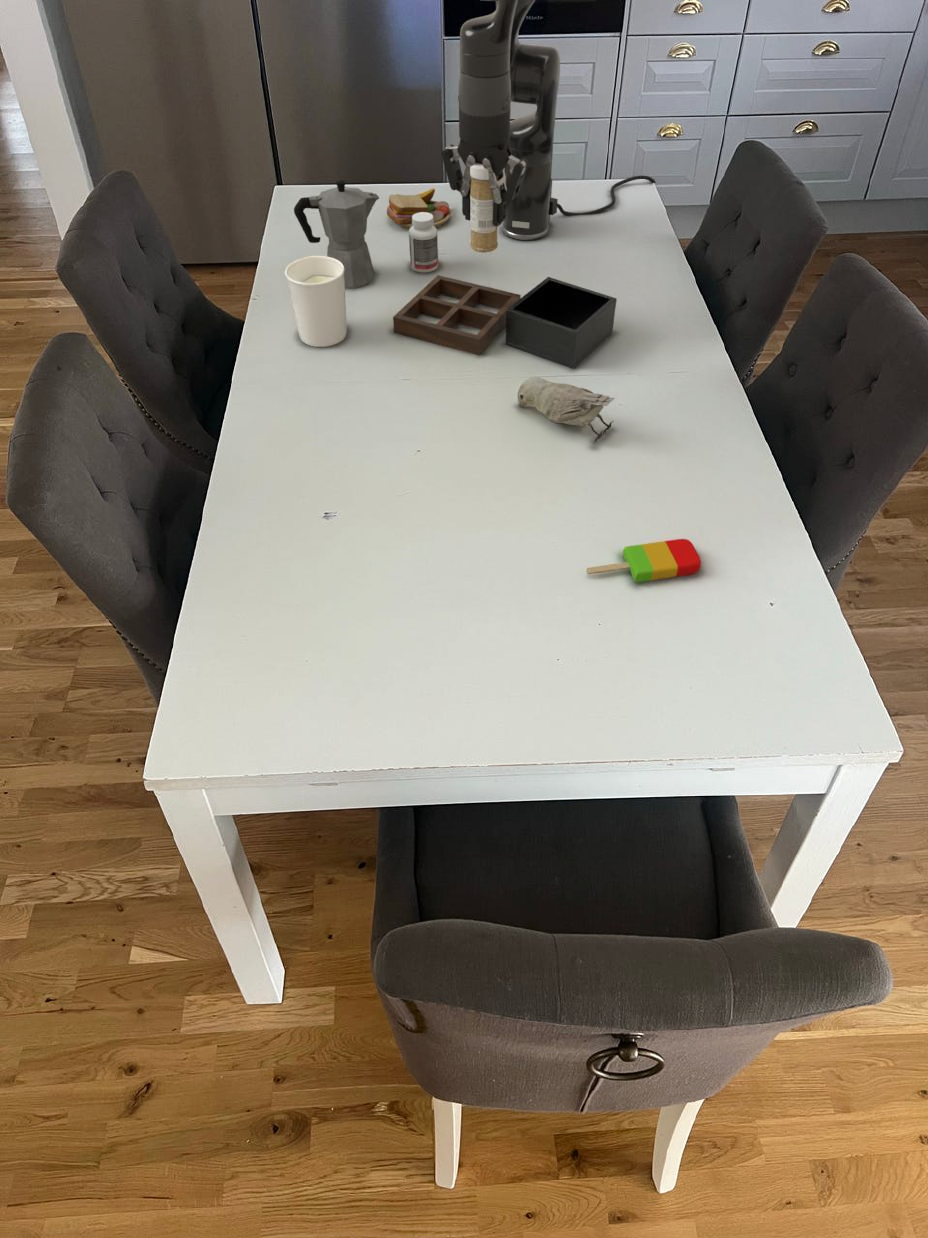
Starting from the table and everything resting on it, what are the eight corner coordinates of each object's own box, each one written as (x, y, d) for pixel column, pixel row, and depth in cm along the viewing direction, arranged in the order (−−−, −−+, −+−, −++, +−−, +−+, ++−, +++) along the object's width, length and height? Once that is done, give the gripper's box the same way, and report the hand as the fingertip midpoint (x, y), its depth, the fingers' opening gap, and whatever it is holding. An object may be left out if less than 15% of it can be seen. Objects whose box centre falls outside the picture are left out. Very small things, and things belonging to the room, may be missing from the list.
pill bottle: (444, 266, 178) (442, 216, 171) (423, 276, 175) (421, 225, 168) (425, 257, 181) (423, 207, 173) (404, 266, 178) (401, 216, 171)
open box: (546, 311, 166) (548, 276, 162) (612, 333, 161) (616, 298, 156) (505, 344, 159) (506, 309, 154) (573, 368, 154) (576, 333, 149)
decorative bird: (528, 397, 148) (530, 357, 143) (616, 432, 142) (622, 391, 136) (509, 414, 145) (511, 373, 140) (598, 450, 139) (604, 408, 133)
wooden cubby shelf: (438, 289, 172) (437, 274, 170) (520, 310, 167) (520, 294, 164) (393, 332, 162) (392, 316, 160) (479, 355, 157) (479, 339, 154)
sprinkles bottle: (499, 241, 150) (501, 155, 140) (495, 254, 147) (496, 167, 137) (472, 239, 151) (472, 153, 141) (467, 252, 148) (466, 165, 138)
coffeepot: (380, 261, 179) (373, 165, 166) (388, 284, 173) (381, 187, 160) (301, 270, 177) (287, 174, 164) (306, 294, 171) (292, 196, 158)
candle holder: (284, 343, 160) (273, 277, 151) (311, 315, 166) (302, 251, 157) (335, 354, 157) (327, 288, 148) (360, 326, 163) (354, 261, 154)
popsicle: (702, 574, 121) (705, 563, 119) (592, 591, 119) (593, 580, 117) (687, 546, 124) (689, 535, 123) (580, 562, 122) (581, 551, 121)
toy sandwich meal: (456, 228, 189) (456, 205, 185) (391, 235, 187) (390, 211, 184) (445, 202, 197) (444, 180, 194) (382, 208, 195) (381, 186, 192)
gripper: (540, 103, 133) (534, 220, 146) (453, 88, 137) (454, 203, 150) (518, 121, 129) (514, 240, 141) (429, 104, 133) (433, 221, 146)
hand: (483, 220), depth 146 cm, fingers closed on sprinkles bottle, 4 cm apart
